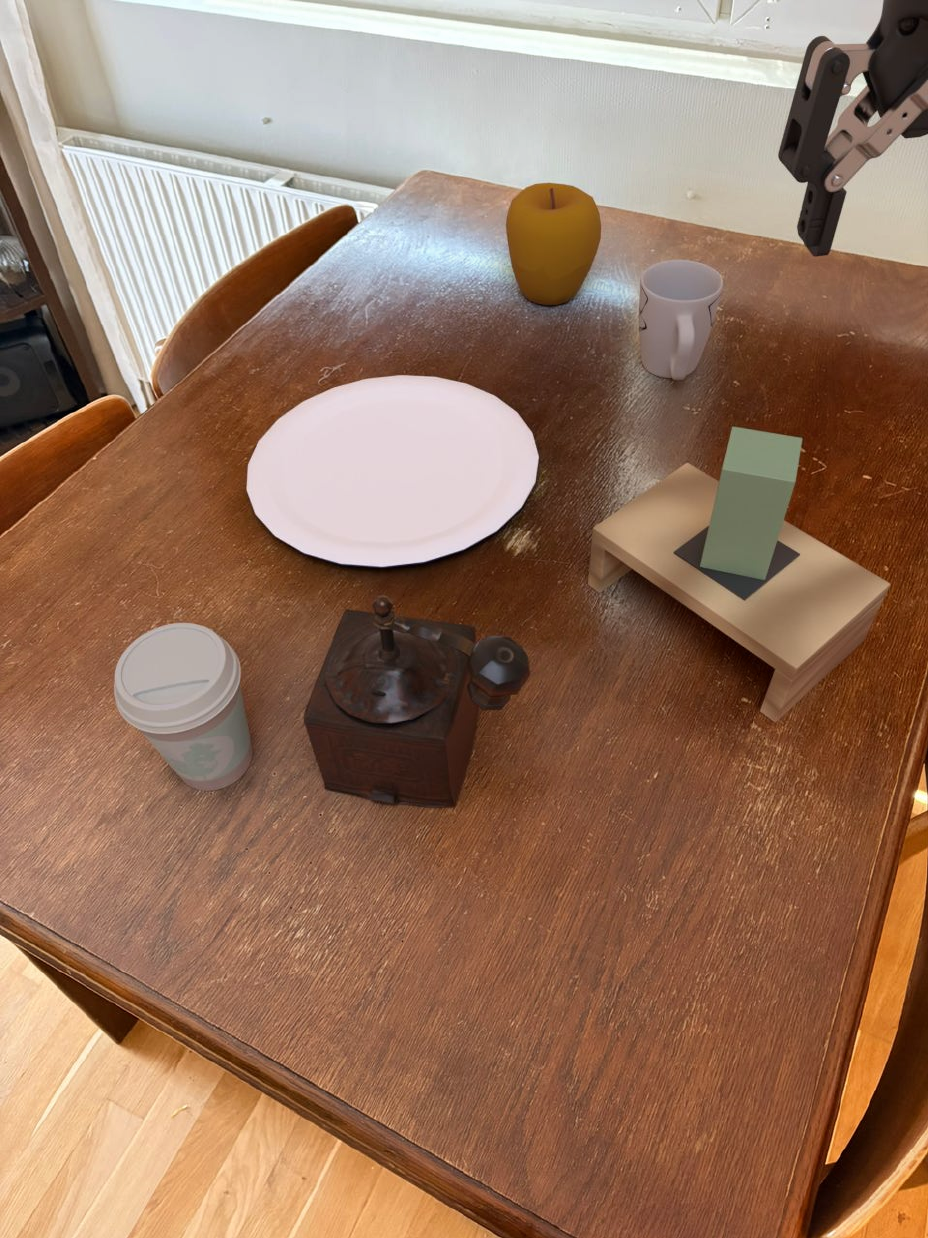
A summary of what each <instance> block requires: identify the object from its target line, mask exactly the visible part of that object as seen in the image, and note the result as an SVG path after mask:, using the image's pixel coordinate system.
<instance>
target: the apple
mask: <svg viewBox="0 0 928 1238" xmlns="http://www.w3.org/2000/svg"><path fill="white" fill-rule="evenodd" d="M505 232H506V239H507V248H508V253H509V258H510V259H509V260H510V264H511V269H512V272H513V273H512V274H513V276H514V279H515V282H516V284H517V286H518V289H519V290H520V292H521V294H523V296H524V297H525V298H526V299H527V300H529V301H531V302H533V303H535V304H539V305H545V306H559V305H561V304H564V303H566V302H568V301H570V300H571V299H572V298H574V297H575V296H576V295H577V293H578V292H579V291H580V290H581V288H582V286H583V284H584V282H585V280H586V278H587V276H588V275H589V272H590V271H591V268H592V266H593V263H594V261H595V259H596V256H597V253H598V250H599V246H600V242H601V238H602V221H601V214H600V211H599V208H598V206H597V204H596V201H595V199H594V197H593V196H592V195H590V194H588V193H586V192H585V191H583V190H582V189H580V188H579V187H576V186H574V185H572V184H571V185H570V184H566V183H557V182H542V183H541V182H540V183H533V184H532V185H529V186H526V187H525V188H524V189H522V190H521V191H520V192H519V193H518V194H517V195H515V196H514V198H512V200H511V202H510V204H509V207H508V210H507V214H506V220H505Z"/></svg>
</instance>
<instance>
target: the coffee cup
mask: <svg viewBox="0 0 928 1238" xmlns="http://www.w3.org/2000/svg"><path fill="white" fill-rule="evenodd" d="M241 674H242V667H241V663H240V660H239V657H238V655H237V654H236V652H235V651H234V648H232V646H231V645H230V644H229V642H228V641H226V640H225V638H223V637H221V636H219V635H218V634H217V633H216V632H215V631H213V630H212V629H211V628H208V627H206V626H204V625H201V624H199V623H198V624H197V623H192V622H174V623H169V624H164V625H161V626H159V627H156V628H153V629H151V630H149V631H147V632H145V633H143V634H142V635H140V636H139V637H138V638H136V639H135V640H133V642H132V643H130V644H129V645H128V646H127V647H126V649H125V650H124V651H123V652H122V654H121V656H120V657H119V660H118V661H117V664H116V666H115V670H114V683H113V695H114V700H115V705H116V707H117V710H118V712H119V713H120V715H121V717H122V718H123V719H124V721H126V722H127V723H128V724H130V726H132V727H134V728H136V729H138V730H139V731H140V733H141V734H142V735H143V736H144V737H145V739H146V740H147V741H148V742H149V743H150V744H151V746H152V747H153V748H154V749H155V750H156V751H157V752H158V754H159V755H160V757H162V759H164V761H165V762H166V763H167V764H168V765H169V767H170V768H171V769H172V770H173V772H174V773H176V775H177V776H178V777H179V778H180V779H181V781H182V782H183V783H184V784H186V785H187V787H188V786H189V787H190V788H191V789H194V790H197V791H202V792H213V791H217V790H221V789H224V788H227V787H229V786H231V785H233V784H234V783H236V782H237V781H238V780H239V779H241V778H242V777H243V775H244V774H245V773H246V772H247V771H248V769H249V767H250V765H251V763H252V760H253V755H254V752H253V751H254V750H253V744H252V738H251V734H250V729H249V723H248V718H247V714H246V708H245V704H244V698H243V694H242V689H241V684H240V682H241V677H242V675H241Z"/></svg>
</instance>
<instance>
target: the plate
mask: <svg viewBox="0 0 928 1238" xmlns="http://www.w3.org/2000/svg"><path fill="white" fill-rule="evenodd" d="M250 457H251V458H250V460H249V461H248V463H247V475H246V493H247V495H248V498H249V500H250V504H251V506H252V509H253V511H254V514H255V516H256V518H257V519H258V520H259V521H260V523H262V524H263V525H264V526H265V527H266V529H267V530H268V531H269V532H270V533H271V534H272V536H274V538H276V539H277V540H279V541H281V542H283V544H286V545H287V546H290V547H291V548H292V549H295V550H296V551H297V552H299V553H301V554H303V555H306V556H309V557H313V558H316V559H318V560H323V561H325V562H329V563H333V564H337V565H339V566H348V567H360V568H361V567H362V568H374V569H375V568H376V569H388V568H396V567H404V566H405V567H406V566H413V565H419V564H421V565H422V564H426V563H430V562H433V561H436V560H439V559H442V558H446V557H448V556H452V555H455V554H458V553H461V552H464V551H466V550H467V549H469V548H471V547H473V546H475V545H477V544H479V543H480V542H482V541H484V540H485V539H487V538H489V537H491V536H493V535H494V534H496V533H498V532H499V531H500V530H501V529H502V528H503V527H504V526H505V525H506V524H507V523H508V522H509V521H510V520H511V519H512V518H513V517H514V516H516V515H517V513H519V512H520V511H521V510H522V508H523V506H524V505H525V503H526V502H527V499H528V498H529V496H530V494H531V492H532V490H533V489H534V486H535V485H536V481H537V473H538V466H539V459H540V455H539V452H538V448H537V445H536V442H535V437H534V434H533V432H532V430H531V429H530V427H529V426H528V425H527V424H526V422H525V421H524V419H523V418H522V417H521V415H520V414H519V412H517V411H516V410H515V409H513V408H512V407H511V406H509V405H508V404H506V403H505V402H504V401H502V400H501V399H500V398H499V397H498V396H496V395H494V394H492V393H489V392H487V391H485V390H482V389H480V388H478V387H476V386H474V385H471V384H468V383H466V382H460V381H456V380H453V379H448V378H444V377H443V378H442V377H438V376H430V375H429V376H428V375H427V376H425V375H409V374H408V375H404V374H399V375H391V376H381V377H380V376H379V377H371V378H370V377H369V378H365V379H361V380H357V381H353V382H349V383H346V384H342V385H338V386H335V387H332V388H329V389H327V390H325V391H323V392H321V393H318V394H316V395H314V396H312V397H310V398H308V399H306V400H303V401H301V402H300V403H299V404H297V405H296V406H295V407H294V408H292V409H290V410H289V411H287V412H286V413H284V414H283V415H282V416H281V417H279V418H278V419H276V420H275V422H274V423H273V424H272V425H271V426H270V428H269V429H268V430H266V432H265V433H264V434H263V435H262V437H261V438H260V439H258V442H257V444H256V446H255V448H254V451H253V453H252V455H251V456H250Z"/></svg>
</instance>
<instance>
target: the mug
mask: <svg viewBox="0 0 928 1238" xmlns="http://www.w3.org/2000/svg"><path fill="white" fill-rule="evenodd" d="M639 281H640V282H639V294H638V295H639V296H638V297H639V299H638V338H639V352H640V360H641V364H642V366H643V368H644V369H645V370H646V371H647V372H648V373H650V374H651V375H654V376H656V377H658V378H659V377H660V378H664V379H672V380H674V381H683V380H685V378H686V377H687V376H689V375H690V374H692V373H693V372H694V371H695V370H696V368H697V367H698V365H699V363H700V361H701V359H702V356H703V353H704V350H705V348H706V345H707V343H708V340H709V338H710V335H711V332H712V329H713V327H714V323H715V320H716V315H717V311H718V308H719V304H720V301H721V297H722V293H723V288H724V281H723V278H722V276H721V274H720V273H719V272H718V270H716V269H714V268H713V267H712V266H710V265H708V264H705V263H702V262H698V261H695V260H690V259H669V260H664V261H660V262H657V263H656V262H655V263H654V264H652V265H650V266H648V267H647V268H646V269H645V270H644V271H643V273H642V274H641V276H640V280H639Z"/></svg>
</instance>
